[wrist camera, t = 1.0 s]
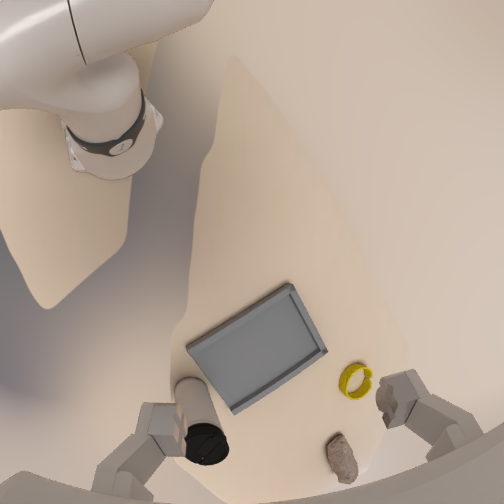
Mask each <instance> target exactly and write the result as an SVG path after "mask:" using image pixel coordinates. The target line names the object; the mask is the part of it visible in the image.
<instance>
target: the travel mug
mask: <svg viewBox="0 0 504 504" xmlns="http://www.w3.org/2000/svg"><path fill="white" fill-rule="evenodd" d="M174 392H175V401H176V403H180V405H181V407H182V413H183V414H185V416H186V420H187V428H188V430H187V436H186V437H185V438H184V440H185V442H186V454H185V457H186V458H187V459H188V460H190V461H191V462H194V463H197V464H199V465H205V466H206V465H214V464H217V463H219V462H221V461H223V460H224V459H225V458H226V457H227V455H228V453H229V446H228V443H227V441H226V440H227V438H226V436H225V435H224V432H223V429H222V427H221V424H220V421H219V419H218V416H217V413H216V411H215V408H214V405H213V403H212V400H211V397H210V394H209V391H208V389H207V386H206V384H205V383H204V382H203V381H202V380H200V379H198V378H195V377H187V378H184V379H182V380H180V381H179V382H178V383H177V385H176V387H175V391H174Z"/></svg>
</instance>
